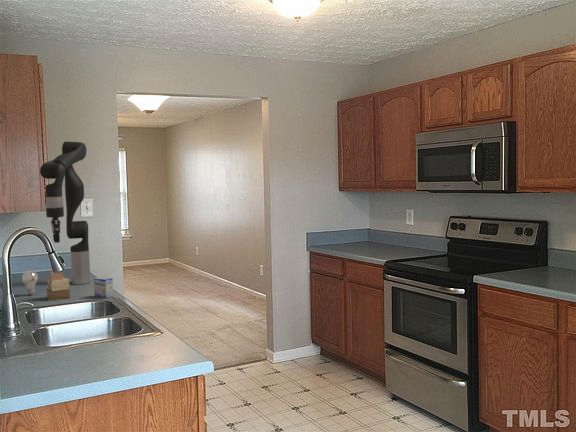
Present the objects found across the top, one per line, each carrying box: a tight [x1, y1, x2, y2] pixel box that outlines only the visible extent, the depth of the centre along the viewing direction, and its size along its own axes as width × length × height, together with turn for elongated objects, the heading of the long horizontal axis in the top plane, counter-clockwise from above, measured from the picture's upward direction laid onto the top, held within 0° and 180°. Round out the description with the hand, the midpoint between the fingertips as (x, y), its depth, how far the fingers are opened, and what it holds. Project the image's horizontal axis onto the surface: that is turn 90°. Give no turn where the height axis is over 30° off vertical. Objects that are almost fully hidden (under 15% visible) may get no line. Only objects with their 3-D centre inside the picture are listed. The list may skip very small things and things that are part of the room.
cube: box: [50, 268, 65, 281], centre depth 256 cm, size 5×5×5 cm
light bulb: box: [21, 269, 39, 296], centre depth 265 cm, size 7×7×12 cm
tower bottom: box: [46, 288, 71, 302], centre depth 256 cm, size 9×9×4 cm
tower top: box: [47, 277, 70, 291], centre depth 256 cm, size 8×8×4 cm
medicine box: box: [93, 277, 114, 299], centre depth 256 cm, size 8×4×9 cm, turn 62°
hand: (56, 241), depth 256 cm, fingers open, 8 cm apart
